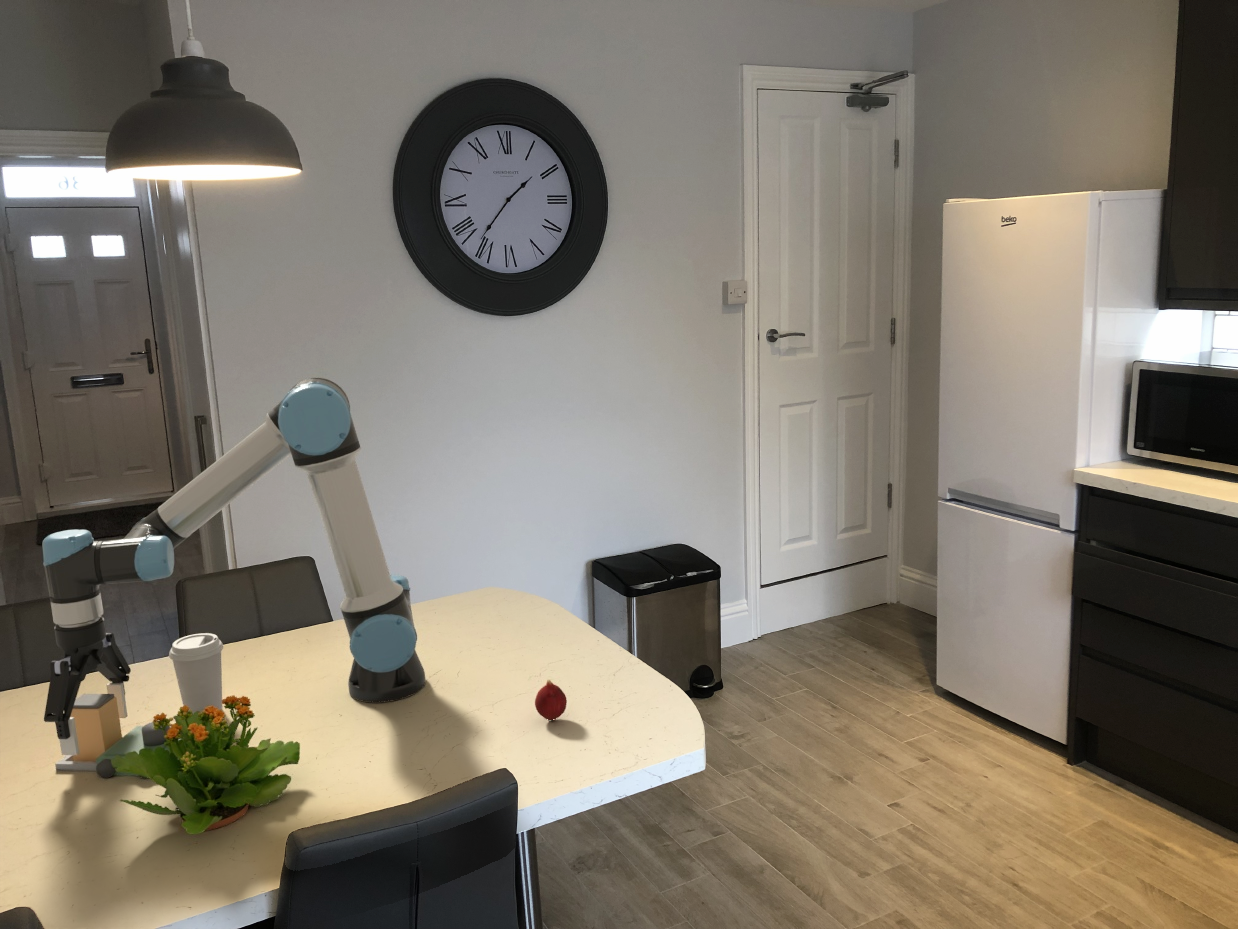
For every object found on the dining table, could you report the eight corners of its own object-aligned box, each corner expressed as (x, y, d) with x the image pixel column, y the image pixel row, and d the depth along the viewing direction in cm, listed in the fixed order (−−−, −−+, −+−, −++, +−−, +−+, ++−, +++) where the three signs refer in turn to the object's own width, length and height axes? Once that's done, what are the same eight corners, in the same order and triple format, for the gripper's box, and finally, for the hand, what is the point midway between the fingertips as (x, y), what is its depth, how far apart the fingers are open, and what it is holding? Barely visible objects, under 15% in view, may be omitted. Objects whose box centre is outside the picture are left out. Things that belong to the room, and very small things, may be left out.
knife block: (123, 748, 170) (115, 693, 168) (106, 762, 165) (98, 706, 163) (92, 748, 170) (83, 693, 168) (74, 762, 166) (65, 705, 164)
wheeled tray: (199, 739, 173) (195, 708, 172) (156, 779, 160) (151, 746, 158) (98, 737, 175) (94, 707, 174) (47, 777, 161) (42, 744, 160)
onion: (572, 716, 177) (571, 676, 176) (558, 730, 172) (556, 689, 171) (545, 711, 180) (543, 672, 178) (530, 725, 175) (528, 684, 173)
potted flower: (265, 859, 136) (252, 746, 133) (94, 871, 135) (77, 758, 131) (307, 770, 161) (297, 673, 157) (163, 780, 159) (150, 683, 156)
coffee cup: (211, 727, 178) (202, 651, 175) (166, 724, 180) (156, 649, 177) (241, 704, 187) (232, 632, 184) (197, 702, 189) (188, 630, 186)
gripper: (103, 596, 175) (118, 703, 180) (6, 648, 151) (26, 770, 155) (141, 596, 175) (156, 703, 179) (50, 648, 150) (69, 771, 154)
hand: (96, 735), depth 167 cm, fingers open, 13 cm apart
